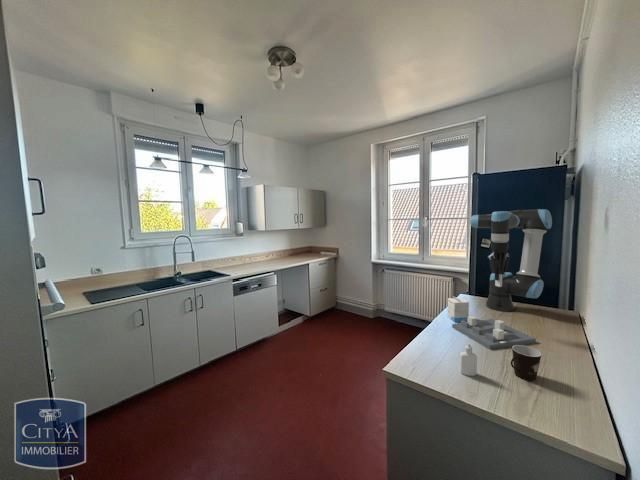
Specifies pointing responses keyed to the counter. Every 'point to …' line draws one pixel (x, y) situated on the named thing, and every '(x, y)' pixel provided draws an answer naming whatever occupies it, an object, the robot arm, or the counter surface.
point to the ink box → (458, 309)
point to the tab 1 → (472, 321)
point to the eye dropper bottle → (468, 362)
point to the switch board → (485, 334)
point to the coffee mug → (525, 362)
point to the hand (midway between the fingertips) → (498, 286)
